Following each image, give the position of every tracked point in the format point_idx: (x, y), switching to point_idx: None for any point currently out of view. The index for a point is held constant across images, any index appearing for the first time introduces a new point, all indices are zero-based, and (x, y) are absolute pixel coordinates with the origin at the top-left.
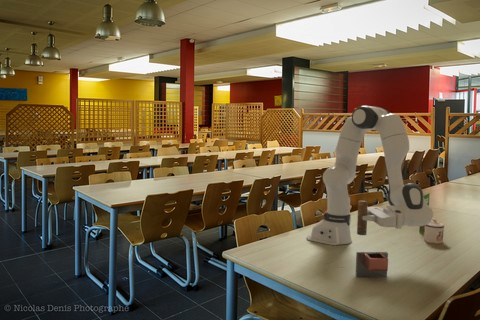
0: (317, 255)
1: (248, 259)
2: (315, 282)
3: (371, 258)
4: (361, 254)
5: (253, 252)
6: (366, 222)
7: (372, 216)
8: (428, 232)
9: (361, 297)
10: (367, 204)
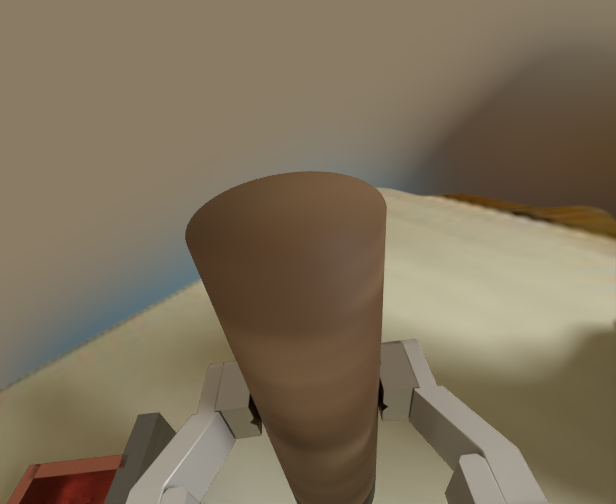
0: (423, 343)
1: None
2: (185, 322)
3: (29, 480)
4: (132, 440)
5: (391, 214)
6: (286, 470)
7: (132, 494)
8: None
9: (27, 437)
10: (242, 319)
